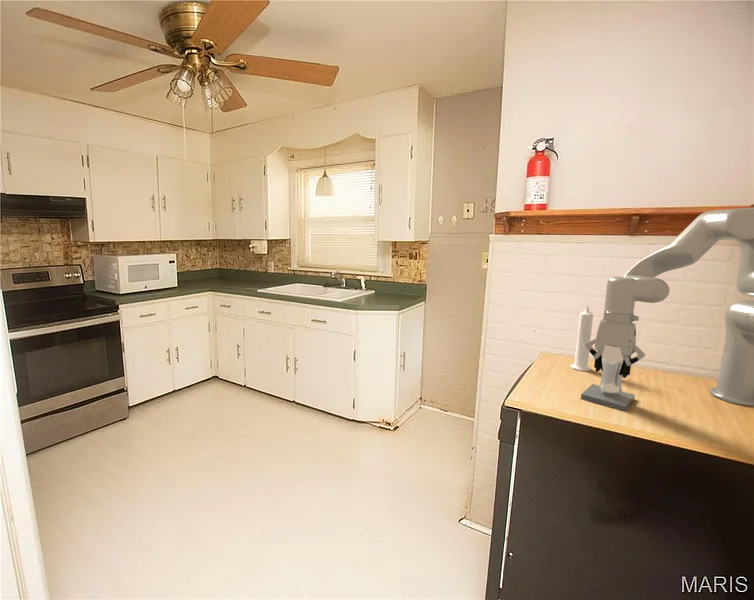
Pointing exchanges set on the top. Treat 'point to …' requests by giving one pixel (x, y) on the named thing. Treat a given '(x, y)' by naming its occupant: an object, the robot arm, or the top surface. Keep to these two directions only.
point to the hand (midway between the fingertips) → (611, 373)
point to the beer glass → (611, 369)
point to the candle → (583, 341)
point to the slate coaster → (608, 398)
